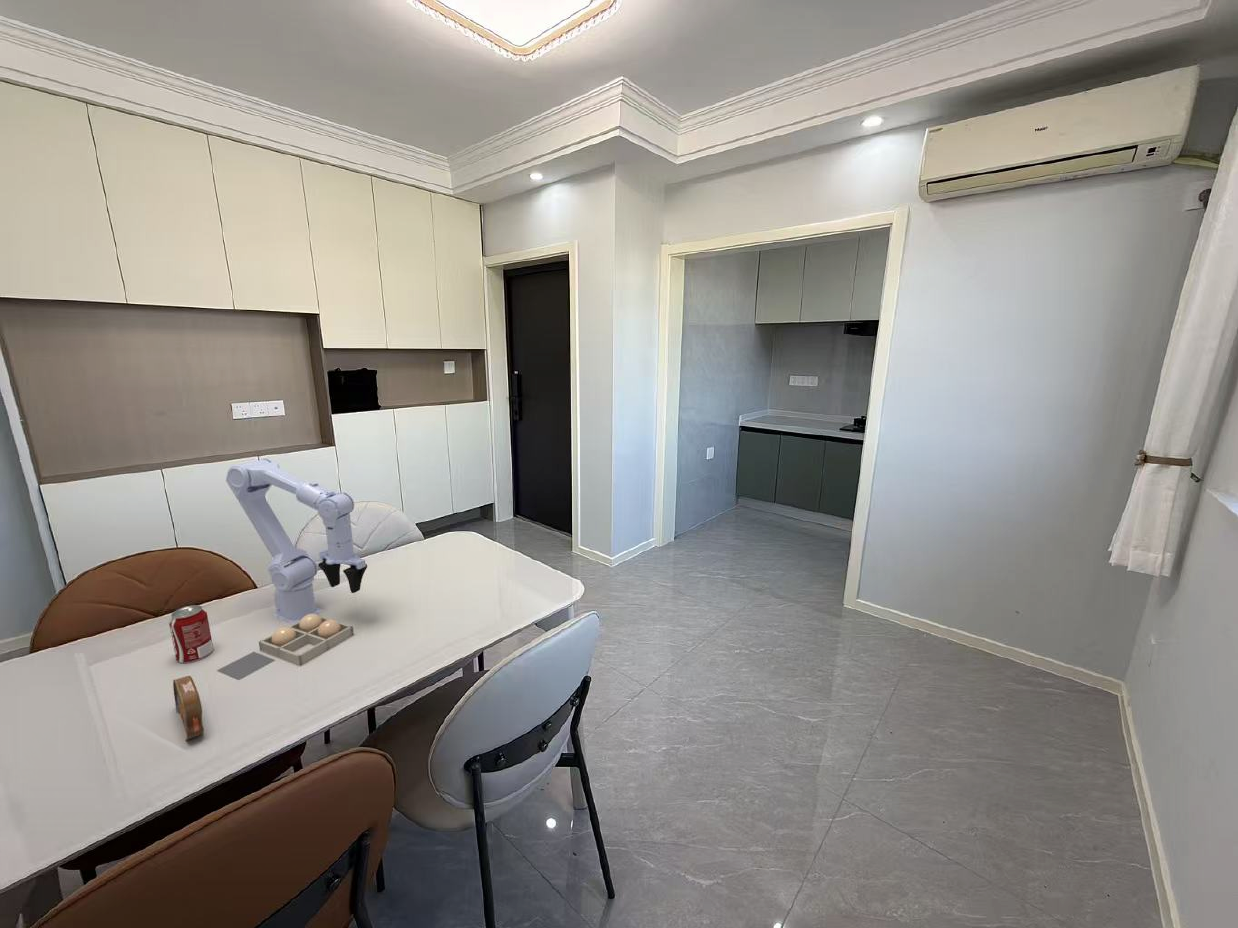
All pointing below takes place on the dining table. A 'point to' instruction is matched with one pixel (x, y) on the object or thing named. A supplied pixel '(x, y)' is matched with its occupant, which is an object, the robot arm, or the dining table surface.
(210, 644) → the soda can
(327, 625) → the seated egg
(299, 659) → the egg tray
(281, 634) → the loose egg
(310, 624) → the seated egg
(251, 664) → the slate coaster
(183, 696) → the tin
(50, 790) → the dining table surface
